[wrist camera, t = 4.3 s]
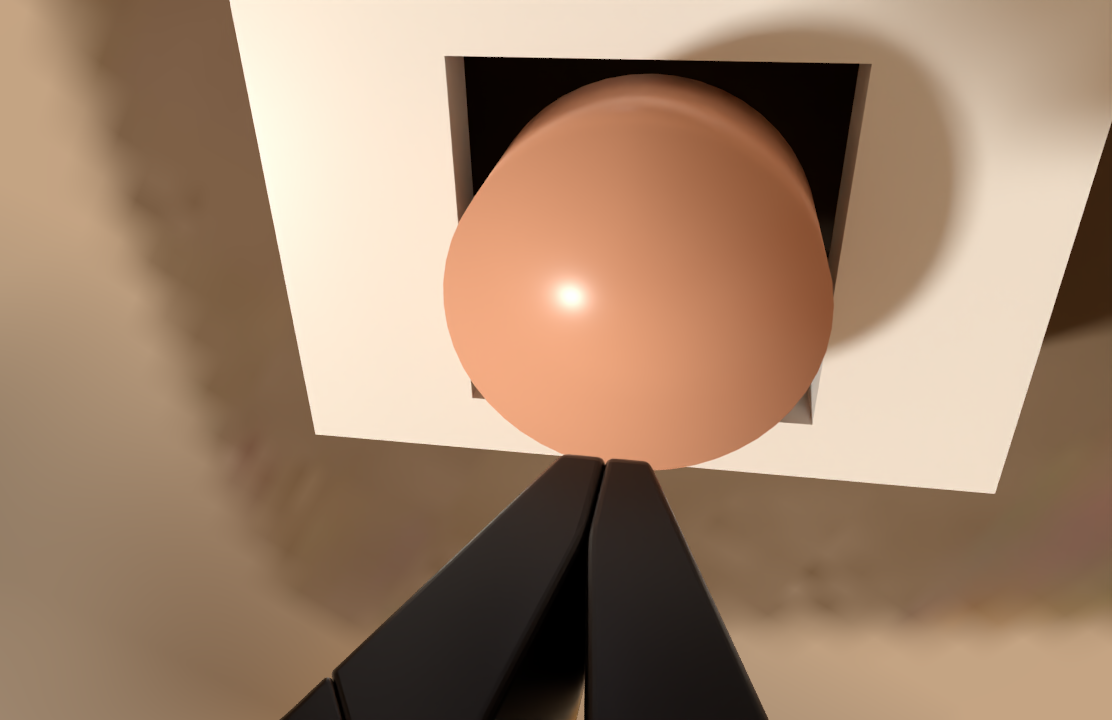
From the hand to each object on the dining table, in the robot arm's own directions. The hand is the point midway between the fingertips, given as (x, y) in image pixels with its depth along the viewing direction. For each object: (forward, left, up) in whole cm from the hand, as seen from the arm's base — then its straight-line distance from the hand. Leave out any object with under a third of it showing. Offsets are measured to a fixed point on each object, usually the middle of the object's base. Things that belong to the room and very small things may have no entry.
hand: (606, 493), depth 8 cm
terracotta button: (0, 0, -6) cm, 6 cm away
